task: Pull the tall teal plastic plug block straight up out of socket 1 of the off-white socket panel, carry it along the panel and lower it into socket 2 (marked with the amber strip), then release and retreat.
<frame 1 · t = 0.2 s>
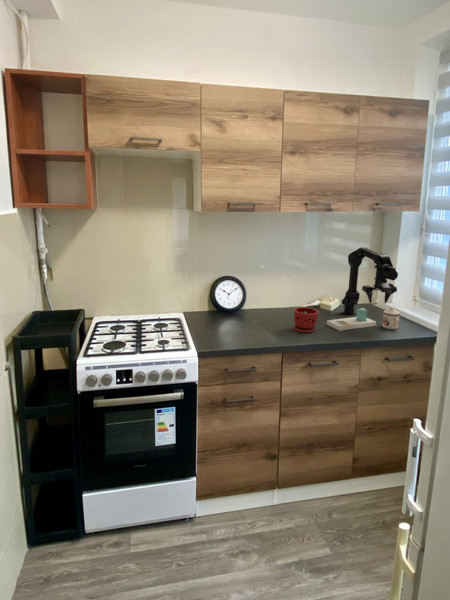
hand: (377, 303, 243), 14 cm above the worktop, fingers open, 9 cm apart
teacup with lid: (391, 328, 244), on the worktop
plant pot: (305, 330, 238), on the worktop
panel: (351, 325, 248), on the worktop
plug: (360, 324, 250), resting in panel
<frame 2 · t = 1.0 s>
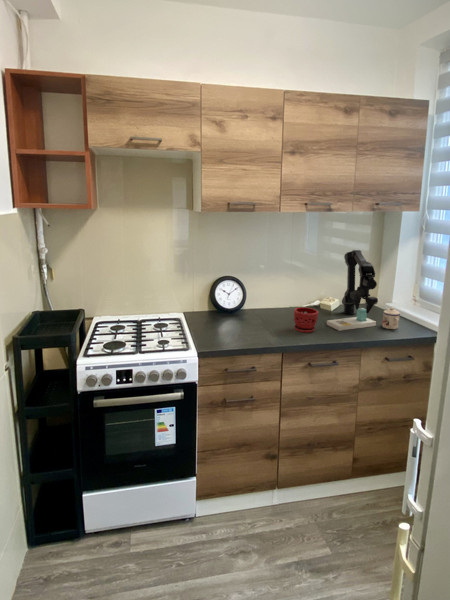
hand: (362, 311, 248), 8 cm above the worktop, fingers open, 9 cm apart
nothing on the worktop moved.
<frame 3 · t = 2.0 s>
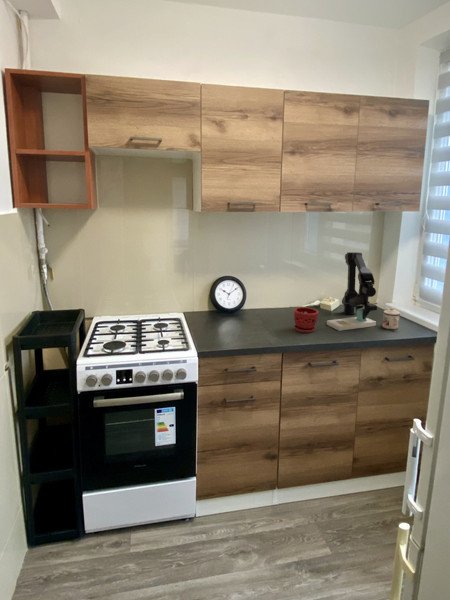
hand: (361, 318, 249), 4 cm above the worktop, fingers closed on plug, 4 cm apart
plug: (360, 324, 250), resting in panel, touching gripper
everything else where it was.
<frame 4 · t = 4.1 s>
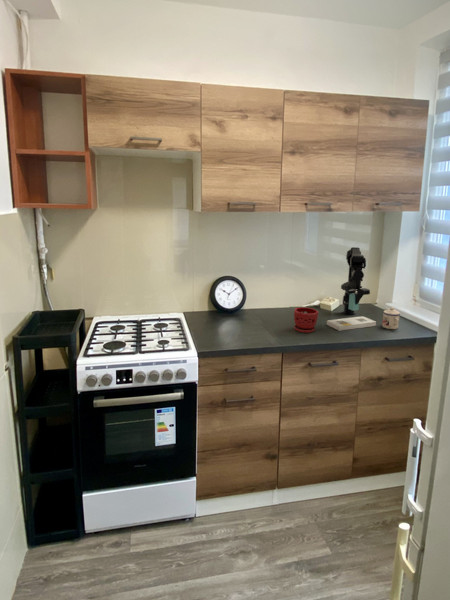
hand: (353, 303, 244), 13 cm above the worktop, fingers closed on plug, 4 cm apart
plug: (353, 309, 245), point 10 cm above the worktop, touching gripper
everything else where it was.
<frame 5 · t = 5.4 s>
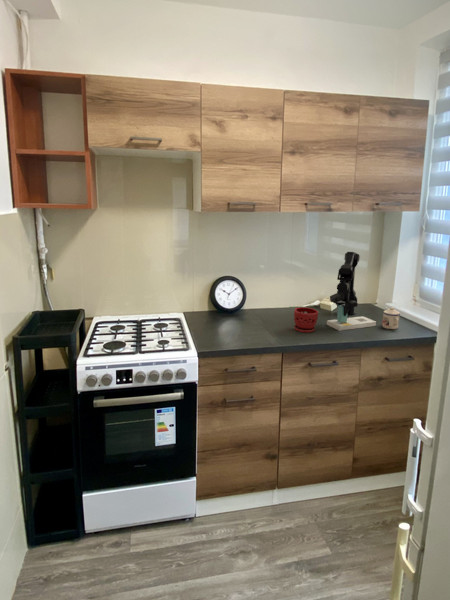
hand: (342, 315, 243), 7 cm above the worktop, fingers closed on plug, 4 cm apart
plug: (341, 321, 244), point 3 cm above the worktop, touching gripper
everything else where it was.
when the fingers open (4 cm above the worktop, at t = 6.1 s): plug stays where it is, resting in panel.
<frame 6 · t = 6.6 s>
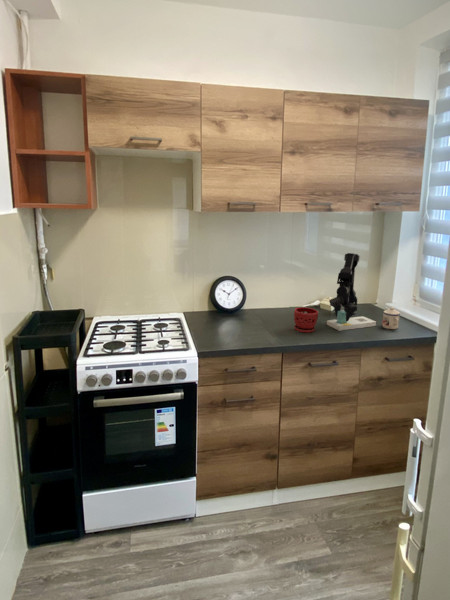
hand: (342, 319, 244), 4 cm above the worktop, fingers open, 9 cm apart
plug: (341, 326, 245), resting in panel
everything else where it was.
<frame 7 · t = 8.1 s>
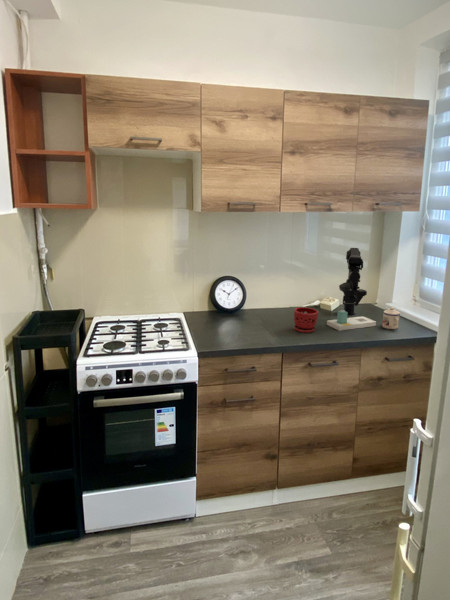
hand: (351, 303, 249), 12 cm above the worktop, fingers open, 9 cm apart
nothing on the worktop moved.
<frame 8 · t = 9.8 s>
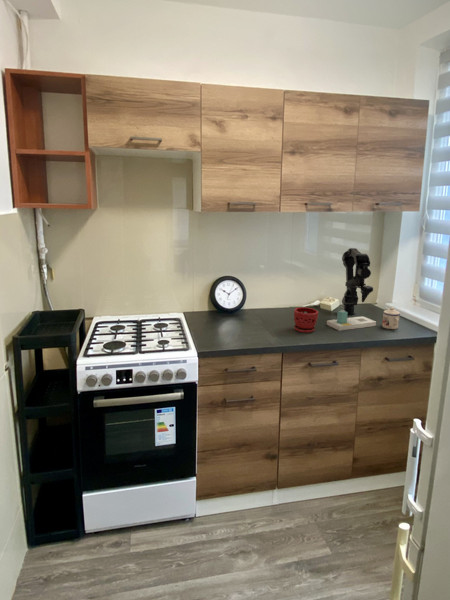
hand: (357, 300, 253), 13 cm above the worktop, fingers open, 9 cm apart
nothing on the worktop moved.
at the end: plug 0.1 cm from the target spot on the panel, point 0.0 cm above the panel's base; plug tilted 0°; the gripper is holding nothing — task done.
